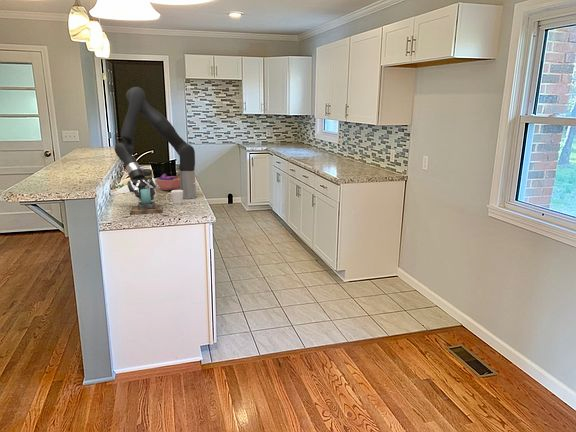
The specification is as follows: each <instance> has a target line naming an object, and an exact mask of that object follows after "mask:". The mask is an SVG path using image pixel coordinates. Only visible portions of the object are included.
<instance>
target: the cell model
mask: <svg viewBox="0 0 576 432" xmlns="http://www.w3.org/2000/svg"><path fill="white" fill-rule="evenodd" d="M154 180H155V182H156V184H157V185H156V186H158V187H159V189H161V190H164V191H166V192H167V191H172V190H180V176H179V175H178V176H176V175H171V176H168V175H167V174H166V173H163V174H162V175H161V176H160V177H156V178H155V179H154Z"/></svg>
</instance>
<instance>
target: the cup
mask: <svg viewBox="0 0 576 432" xmlns="http://www.w3.org/2000/svg"><path fill="white" fill-rule="evenodd" d="M168 195H171V198H172V202H173V203H171V202H170V201H169V200H168V199H167V197H168ZM165 200H166V202H167V203H169V204H170V205H173V206H181V205H182V202H183V190H180V189H178V190H170V192H168V193H167V194H166V196H165Z"/></svg>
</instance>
